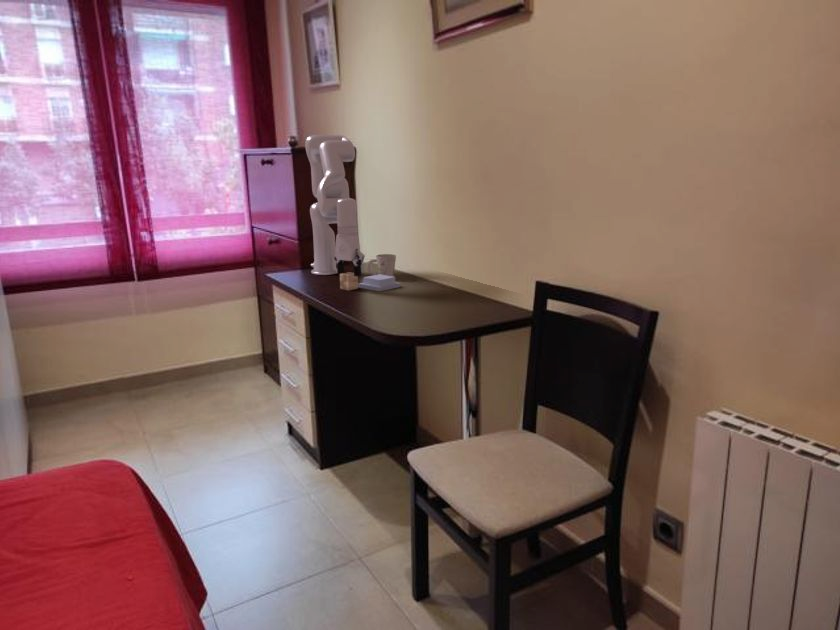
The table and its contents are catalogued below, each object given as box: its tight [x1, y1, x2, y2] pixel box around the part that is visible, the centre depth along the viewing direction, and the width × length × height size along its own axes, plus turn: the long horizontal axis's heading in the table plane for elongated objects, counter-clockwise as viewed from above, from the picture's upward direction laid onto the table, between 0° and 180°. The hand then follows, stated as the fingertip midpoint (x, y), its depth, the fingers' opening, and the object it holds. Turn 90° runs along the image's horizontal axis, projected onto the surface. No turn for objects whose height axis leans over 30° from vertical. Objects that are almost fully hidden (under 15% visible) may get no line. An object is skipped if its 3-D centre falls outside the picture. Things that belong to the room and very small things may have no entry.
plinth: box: [358, 274, 402, 292], centre depth 236 cm, size 12×12×4 cm
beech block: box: [339, 271, 359, 291], centre depth 233 cm, size 5×5×6 cm
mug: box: [366, 253, 397, 277], centre depth 253 cm, size 8×13×10 cm, turn 89°
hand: (349, 274), depth 232 cm, fingers open, 9 cm apart
